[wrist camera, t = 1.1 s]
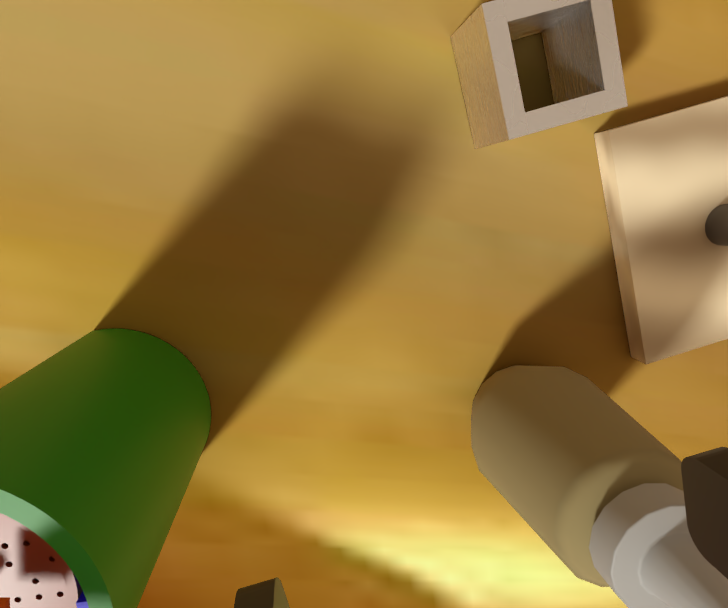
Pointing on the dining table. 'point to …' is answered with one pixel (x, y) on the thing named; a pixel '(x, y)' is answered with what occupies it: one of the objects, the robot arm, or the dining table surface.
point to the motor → (95, 469)
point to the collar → (564, 60)
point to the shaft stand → (670, 226)
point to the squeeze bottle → (592, 486)
